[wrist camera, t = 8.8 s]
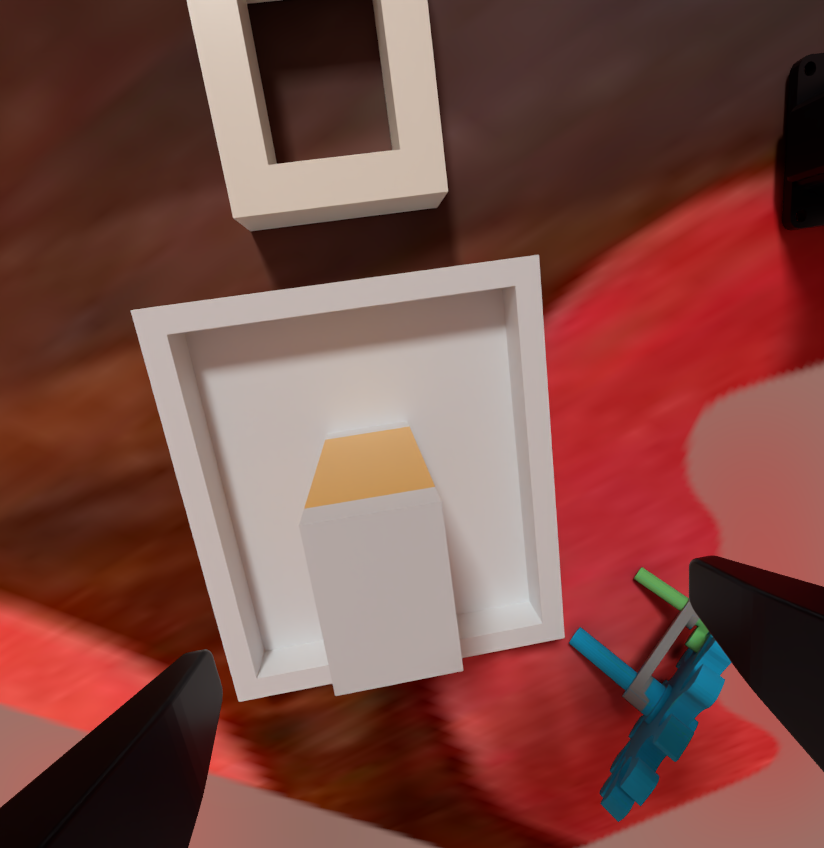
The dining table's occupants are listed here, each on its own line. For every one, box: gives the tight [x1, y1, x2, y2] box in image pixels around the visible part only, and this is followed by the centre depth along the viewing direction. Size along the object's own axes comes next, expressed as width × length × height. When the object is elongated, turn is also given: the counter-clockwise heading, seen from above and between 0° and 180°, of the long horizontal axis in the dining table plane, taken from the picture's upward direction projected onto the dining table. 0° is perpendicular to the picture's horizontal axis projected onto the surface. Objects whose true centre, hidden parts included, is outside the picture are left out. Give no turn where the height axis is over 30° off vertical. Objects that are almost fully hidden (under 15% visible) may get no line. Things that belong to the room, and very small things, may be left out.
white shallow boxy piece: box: [187, 0, 448, 231], centre depth 16 cm, size 8×9×2 cm
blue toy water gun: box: [569, 568, 731, 822], centre depth 22 cm, size 11×6×10 cm
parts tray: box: [131, 255, 565, 702], centre depth 20 cm, size 15×17×2 cm
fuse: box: [299, 421, 463, 696], centre depth 16 cm, size 4×5×9 cm
